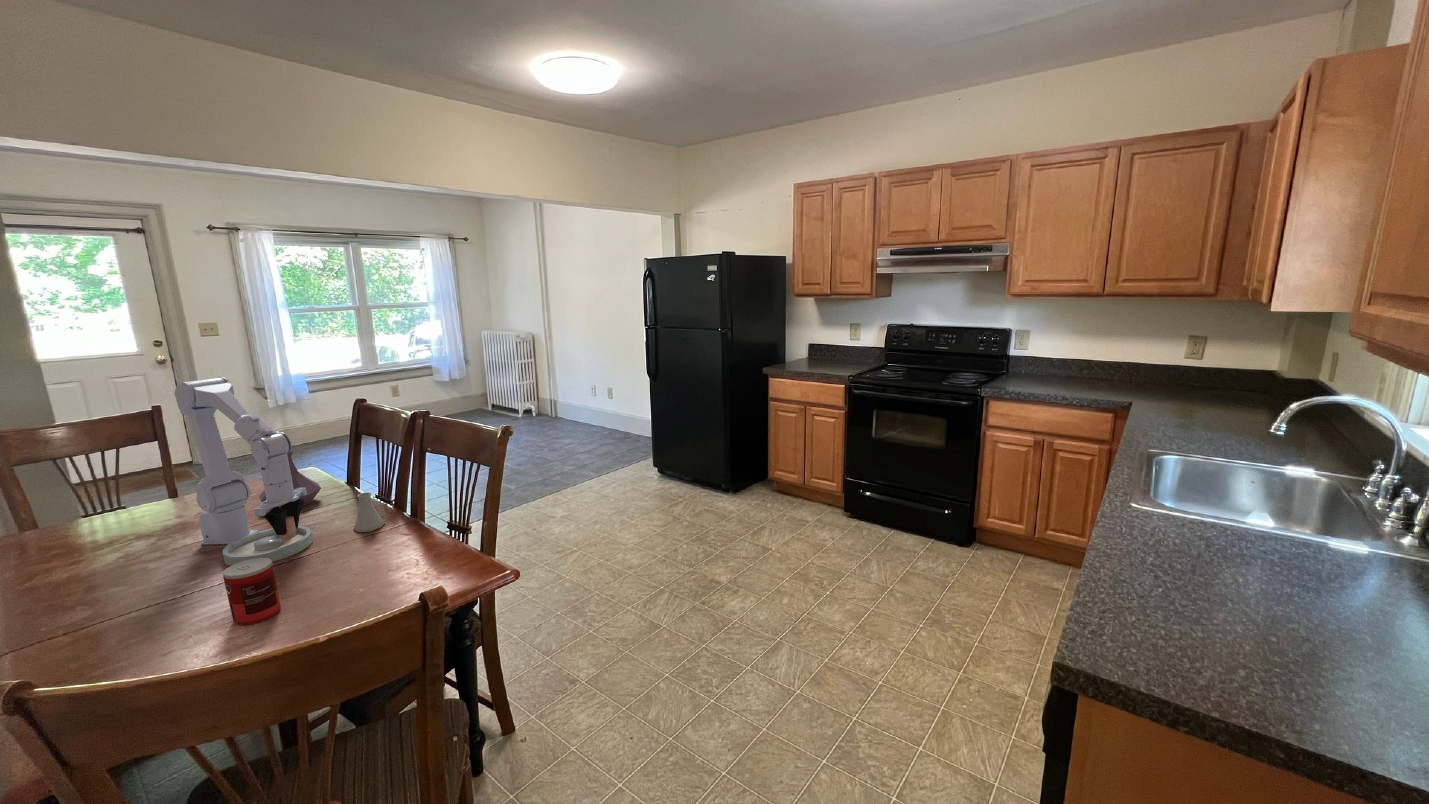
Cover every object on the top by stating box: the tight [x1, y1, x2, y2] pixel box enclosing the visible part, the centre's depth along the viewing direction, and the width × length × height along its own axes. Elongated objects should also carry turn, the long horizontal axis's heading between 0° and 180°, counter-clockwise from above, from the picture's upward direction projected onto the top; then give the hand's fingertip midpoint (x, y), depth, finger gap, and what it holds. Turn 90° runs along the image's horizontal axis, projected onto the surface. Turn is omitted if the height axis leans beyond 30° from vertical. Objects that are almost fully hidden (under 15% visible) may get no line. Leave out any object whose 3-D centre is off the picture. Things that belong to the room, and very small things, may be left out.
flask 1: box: [258, 449, 322, 509], centre depth 174 cm, size 16×16×20 cm
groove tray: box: [222, 525, 314, 567], centre depth 145 cm, size 18×18×2 cm
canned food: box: [222, 558, 282, 626], centre depth 114 cm, size 8×8×11 cm
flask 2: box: [353, 491, 386, 533], centre depth 156 cm, size 7×7×10 cm
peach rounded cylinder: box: [280, 516, 297, 539], centre depth 144 cm, size 3×3×5 cm
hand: (287, 531), depth 144 cm, fingers closed on peach rounded cylinder, 3 cm apart
